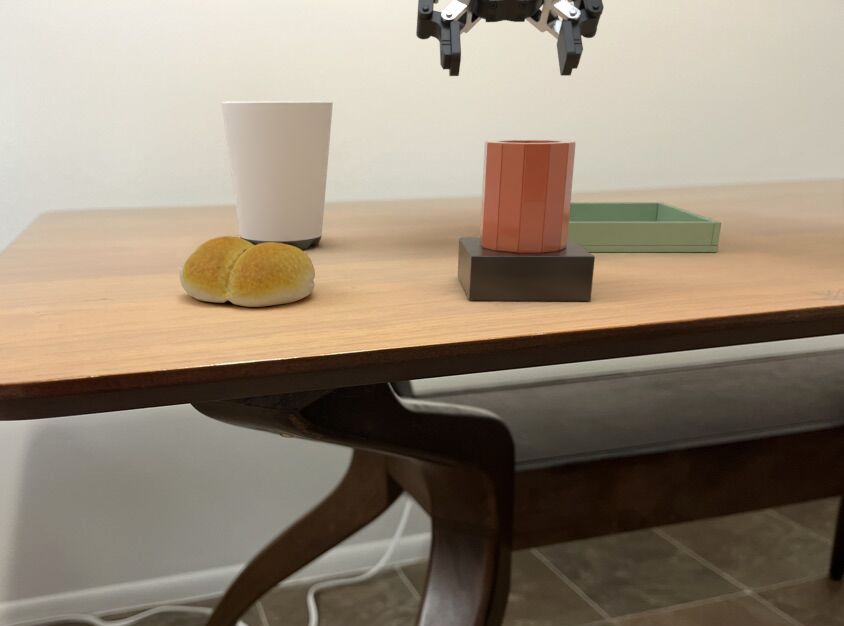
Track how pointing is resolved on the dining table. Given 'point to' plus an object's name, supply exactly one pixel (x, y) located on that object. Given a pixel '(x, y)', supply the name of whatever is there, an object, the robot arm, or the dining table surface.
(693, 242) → the tray
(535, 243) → the reddish-brown round cylinder
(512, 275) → the ring holder
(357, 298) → the dining table surface
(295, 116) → the cup
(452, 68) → the robot arm
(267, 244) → the bread roll
